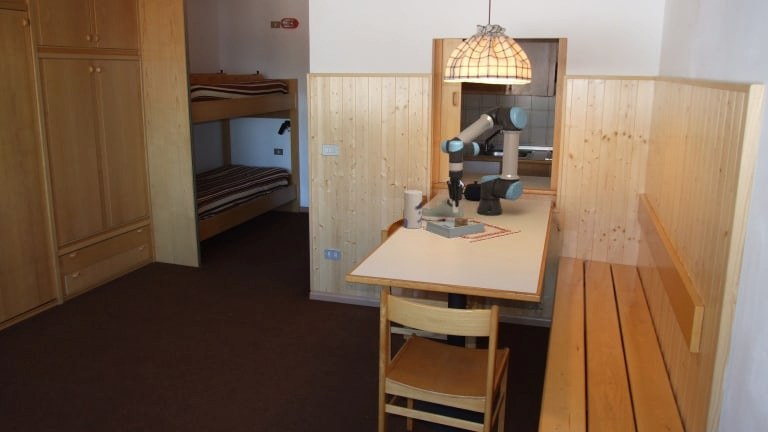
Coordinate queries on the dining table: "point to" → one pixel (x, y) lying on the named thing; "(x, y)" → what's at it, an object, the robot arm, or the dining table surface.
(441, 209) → the running shoe
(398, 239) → the dining table surface
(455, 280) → the dining table surface
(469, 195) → the teapot
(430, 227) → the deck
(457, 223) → the block
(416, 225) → the container
